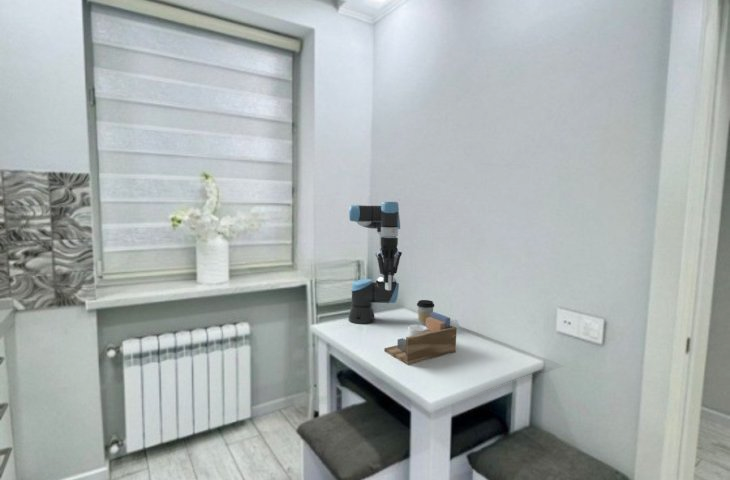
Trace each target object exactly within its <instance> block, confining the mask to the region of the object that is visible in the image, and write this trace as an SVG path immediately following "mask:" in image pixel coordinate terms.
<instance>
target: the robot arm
mask: <svg viewBox="0 0 730 480" xmlns="http://www.w3.org/2000/svg"><path fill="white" fill-rule="evenodd" d="M399 210H400V209H399V203H398V201H382V202H381V205H361V204H360V205H359V204H356V205H353V204H352V205H350V206H349V209H348V213H349V214H348V217H349V219H348V220H349V221H350V222H355V223H357V224H358V225H359V226H361V227H364V228H367V229H372V230H373V229H375V230H376V233H378V235H379V250H378V252H376V253H375V257H376V258H377V264H378V277H376V279H375V281H374V282H373V279H370V278H364V279H363V278H362V279H358V280H355V281H353V282H352V284H351V308H350V311H349V314H348V319H347V320H348V321H349V322H350V323H353V324H359V325H365V324H366V325H367V324H370V323H373V322H375V318H376V317H375V313H374V310H373V304H374V303H375V304H395V303H396V302H397V300H398V296H399V287H400V283H399V282H397V279H396V277H395V274H397V273H398V268H399V263H400V259H401V256H402V255H403V252H402V251H399V250H398V245H399V243H398V241H399V238H398V236H399V230H400V229H401V219H400V212H399Z"/></svg>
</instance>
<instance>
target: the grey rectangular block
mask: <svg viewBox="0 0 730 480" xmlns="http://www.w3.org/2000/svg"><path fill="white" fill-rule="evenodd" d="M396 346H397V348H399V349H400V350H402V351H404V352H406V338H398V339H397V344H396Z"/></svg>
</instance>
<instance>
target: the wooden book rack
mask: <svg viewBox="0 0 730 480" xmlns="http://www.w3.org/2000/svg"><path fill="white" fill-rule="evenodd" d="M405 340H406V352H404V351H402V350H400V349H399V348H397V345H393V346H388V347H384V349H383V350H384V353H386V354H388V355H390V356H392V357H393V358H395V359H396V360H398V361H400V362H402V363H403V364H405V365H407V366H408V365H411V364H415V363H416V364H417V363H420V362H424V361H427V360H431V359H436V358H439V357H443V356H447V355H450V354H454V353H456V352H457V351H456V349H457V327H455V326H453V325H451V324H450V328H447V329H442V330H438V331H433V332H428V333H424V334H419V335H414V336H410V337H408V336H406V337H405Z"/></svg>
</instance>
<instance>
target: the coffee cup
mask: <svg viewBox="0 0 730 480" xmlns="http://www.w3.org/2000/svg"><path fill="white" fill-rule="evenodd" d="M416 306H417V315H418V325H422V326H425V327H426V318H428V317H430V313H432V312H434V307H435V303H434V301H432V300H429V299H420V300H418V302H417V303H416Z"/></svg>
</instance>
